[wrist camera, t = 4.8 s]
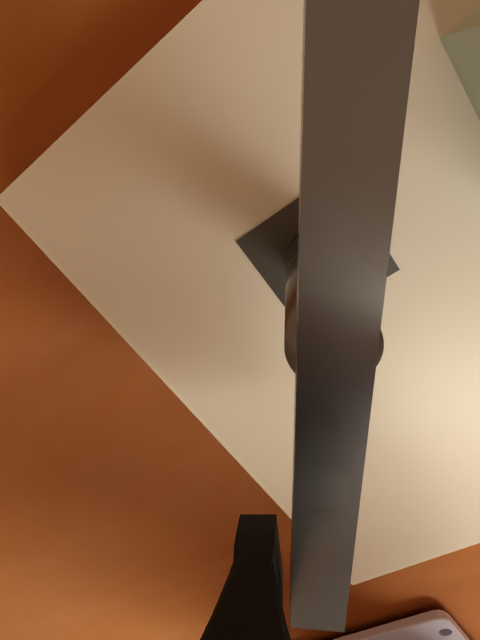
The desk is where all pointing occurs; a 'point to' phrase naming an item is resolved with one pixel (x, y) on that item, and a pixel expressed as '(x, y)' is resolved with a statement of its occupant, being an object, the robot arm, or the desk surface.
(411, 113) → the base plate
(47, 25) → the desk surface
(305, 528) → the t key
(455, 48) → the pale mint cube
